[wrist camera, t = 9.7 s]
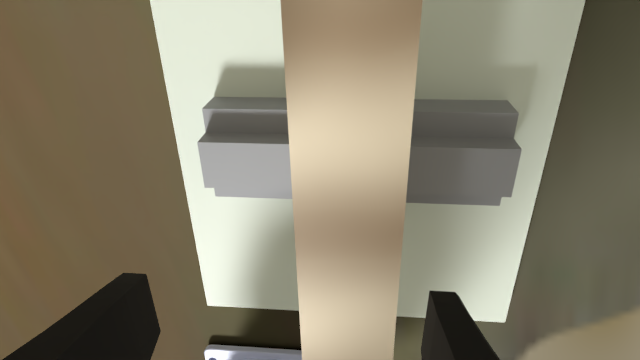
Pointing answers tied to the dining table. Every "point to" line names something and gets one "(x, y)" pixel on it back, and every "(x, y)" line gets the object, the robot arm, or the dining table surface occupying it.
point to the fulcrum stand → (425, 151)
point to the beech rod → (349, 166)
